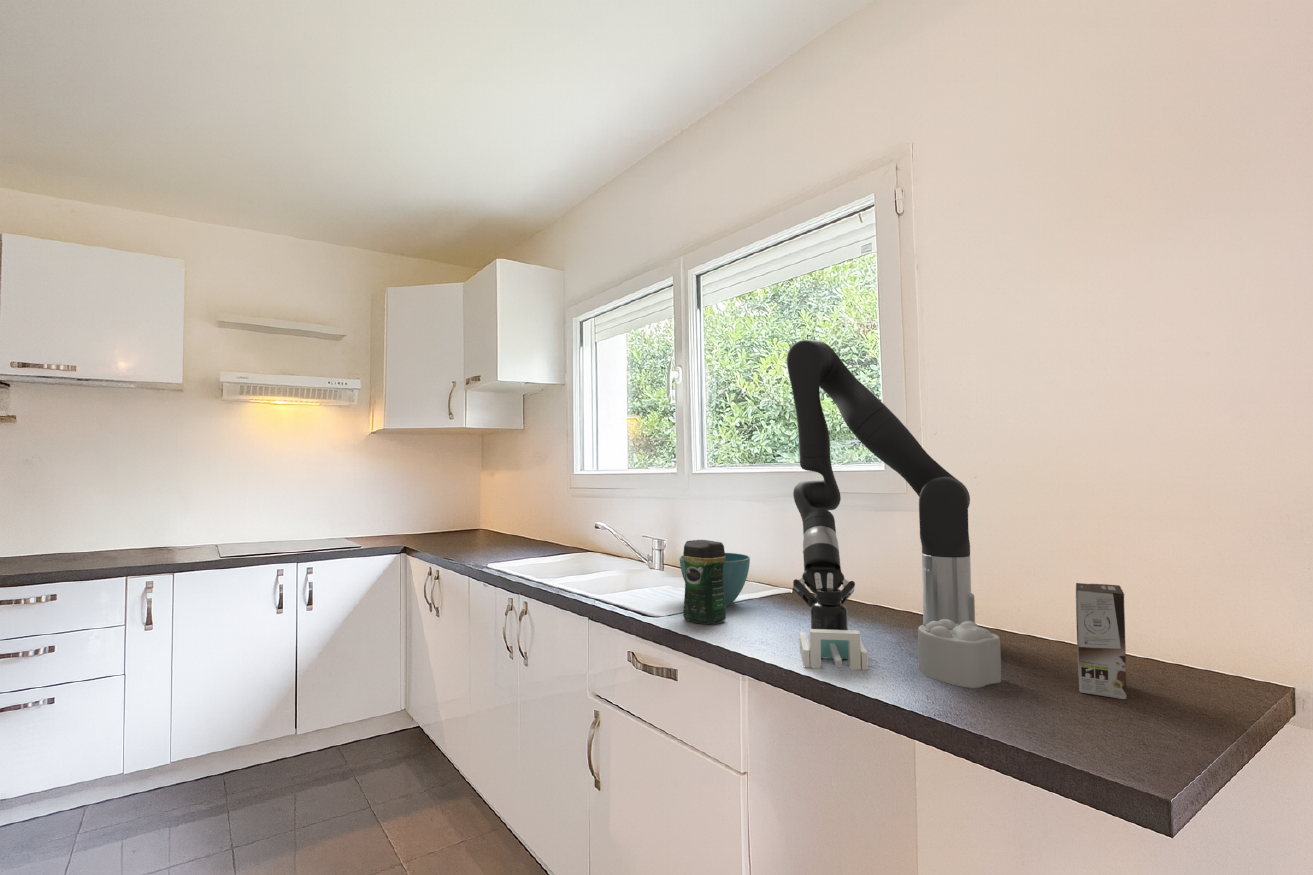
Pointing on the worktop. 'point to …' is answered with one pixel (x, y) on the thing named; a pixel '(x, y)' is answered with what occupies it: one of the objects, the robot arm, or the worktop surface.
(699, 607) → the coffee jar
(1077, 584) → the coffee box
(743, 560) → the teal bowl
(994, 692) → the worktop surface
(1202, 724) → the worktop surface
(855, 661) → the white stand with panel
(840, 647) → the pusher
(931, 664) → the lumpy-topped squat cylinder
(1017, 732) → the worktop surface
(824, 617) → the supplement bottle
